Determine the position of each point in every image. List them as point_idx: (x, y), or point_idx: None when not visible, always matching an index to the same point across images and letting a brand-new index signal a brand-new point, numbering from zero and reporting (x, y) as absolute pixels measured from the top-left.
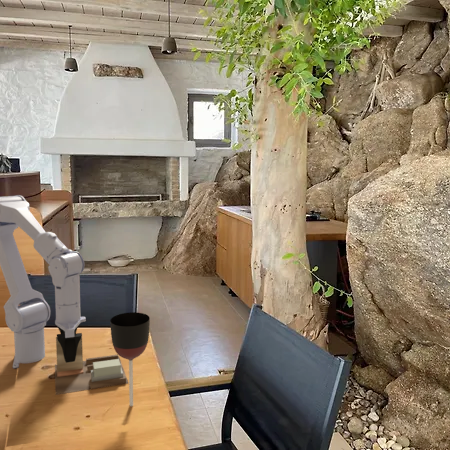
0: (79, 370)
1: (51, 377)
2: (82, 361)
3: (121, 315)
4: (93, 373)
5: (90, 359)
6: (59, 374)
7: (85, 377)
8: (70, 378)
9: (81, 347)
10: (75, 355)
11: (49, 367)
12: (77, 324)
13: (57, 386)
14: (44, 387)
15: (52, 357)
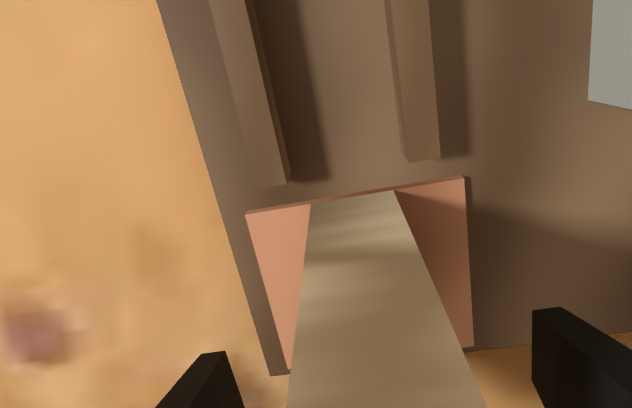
0: (424, 213)
1: None
2: (404, 218)
3: None
4: None
5: (277, 145)
6: (458, 336)
7: (553, 150)
8: (528, 258)
9: (442, 318)
10: (619, 347)
11: (251, 384)
12: None
13: (624, 321)
14: (527, 372)
15: (103, 388)
